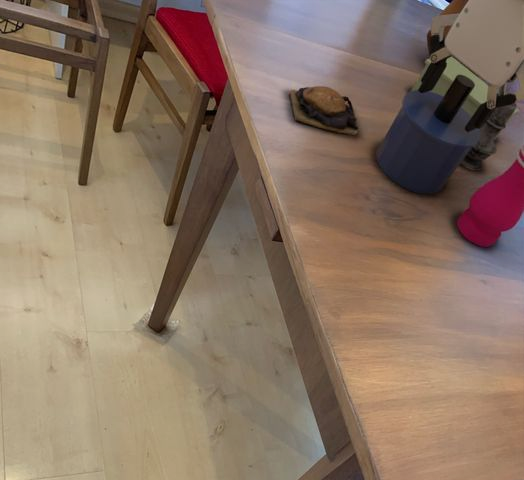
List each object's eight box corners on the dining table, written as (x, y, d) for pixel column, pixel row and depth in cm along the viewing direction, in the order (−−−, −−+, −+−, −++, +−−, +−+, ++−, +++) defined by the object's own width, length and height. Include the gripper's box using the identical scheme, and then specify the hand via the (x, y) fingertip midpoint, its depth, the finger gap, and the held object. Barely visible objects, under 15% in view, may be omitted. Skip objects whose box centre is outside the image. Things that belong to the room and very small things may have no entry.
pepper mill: (455, 206, 83) (550, 83, 68) (497, 227, 84) (601, 109, 68) (452, 236, 79) (552, 111, 63) (497, 257, 79) (608, 139, 64)
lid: (490, 141, 81) (520, 100, 76) (448, 161, 74) (478, 118, 69) (429, 90, 84) (454, 48, 79) (383, 105, 77) (408, 60, 72)
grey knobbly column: (481, 176, 91) (531, 112, 81) (449, 160, 91) (496, 93, 81) (484, 159, 94) (532, 95, 85) (453, 143, 94) (499, 77, 85)
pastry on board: (293, 124, 82) (302, 101, 79) (287, 90, 87) (296, 68, 84) (358, 139, 85) (369, 118, 83) (349, 106, 90) (359, 85, 87)
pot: (455, 182, 87) (489, 136, 81) (417, 203, 81) (450, 154, 74) (403, 137, 90) (432, 89, 83) (362, 153, 83) (389, 102, 77)
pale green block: (497, 139, 100) (519, 110, 95) (477, 149, 96) (500, 119, 91) (430, 84, 104) (448, 53, 99) (408, 91, 100) (426, 59, 95)
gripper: (605, 15, 64) (506, 142, 78) (491, -66, 68) (416, 68, 82) (582, 21, 60) (481, 155, 73) (461, -66, 64) (387, 76, 77)
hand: (447, 109), depth 77 cm, fingers open, 8 cm apart
